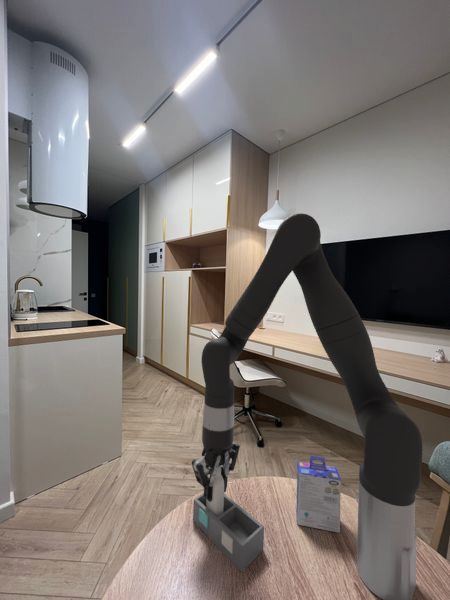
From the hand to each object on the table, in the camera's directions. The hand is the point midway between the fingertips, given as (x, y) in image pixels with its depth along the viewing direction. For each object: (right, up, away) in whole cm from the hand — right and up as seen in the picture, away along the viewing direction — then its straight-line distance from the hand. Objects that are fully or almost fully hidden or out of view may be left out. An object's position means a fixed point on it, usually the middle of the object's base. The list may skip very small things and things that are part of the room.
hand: (215, 494), depth 60 cm
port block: (+3, -7, -3) cm, 8 cm away
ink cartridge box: (+25, -8, +2) cm, 26 cm away
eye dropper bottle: (0, -4, 0) cm, 4 cm away
